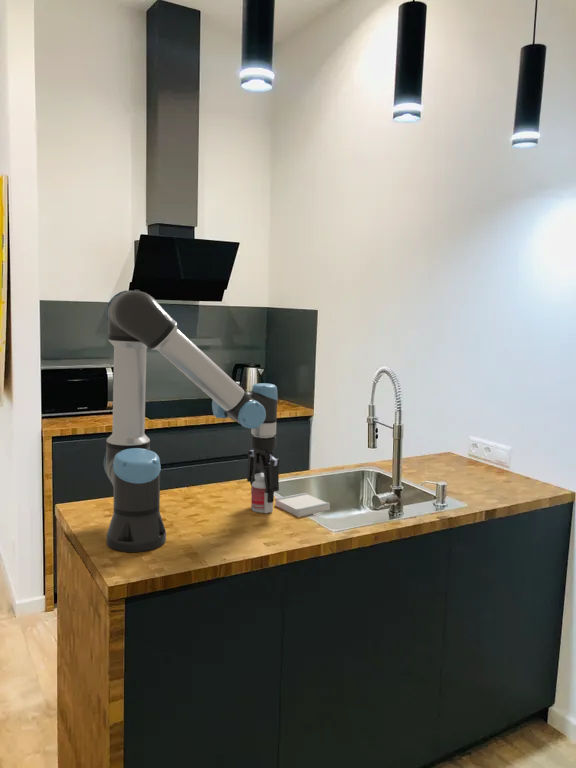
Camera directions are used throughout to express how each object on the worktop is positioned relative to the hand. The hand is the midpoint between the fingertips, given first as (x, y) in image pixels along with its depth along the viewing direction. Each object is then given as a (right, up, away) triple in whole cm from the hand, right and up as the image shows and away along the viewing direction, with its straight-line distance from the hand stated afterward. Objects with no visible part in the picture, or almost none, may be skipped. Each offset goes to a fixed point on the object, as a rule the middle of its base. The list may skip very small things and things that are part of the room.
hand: (261, 508), depth 194 cm
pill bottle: (0, 0, 0) cm, 1 cm away
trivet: (+12, 0, +3) cm, 13 cm away
